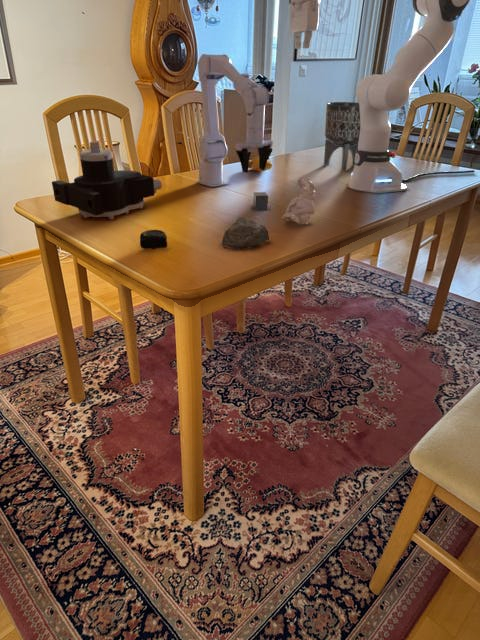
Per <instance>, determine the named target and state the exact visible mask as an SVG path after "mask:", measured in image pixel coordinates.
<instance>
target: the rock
mask: <svg viewBox="0 0 480 640" xmlns="http://www.w3.org/2000/svg"><path fill="white" fill-rule="evenodd" d="M269 241H270V233H269V230H268V229H267V228H266V226H265V225H263V224H261V223H259V222H256V221H255V220H252V219H247V218H245V217H241V216H238V217H237V218H236V219H235V221H234V222H233V223H232V224H231V225H229V226H228V227H227V228H226V229H225V231H224V233H223V236H222V239H221V244H222V247H224V248H229V249H231V250H245V249H254V248H257V247H259V246H260V245H264V244H266V242H269Z"/></svg>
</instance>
